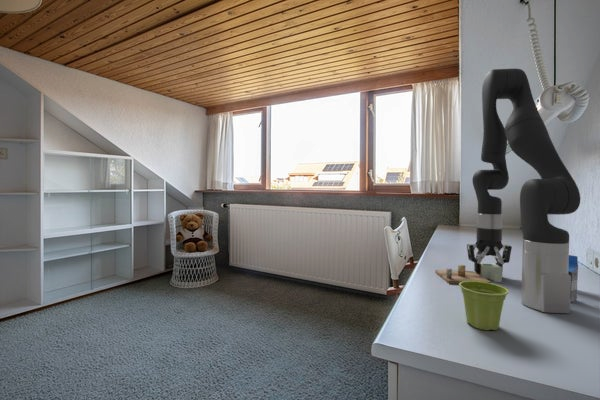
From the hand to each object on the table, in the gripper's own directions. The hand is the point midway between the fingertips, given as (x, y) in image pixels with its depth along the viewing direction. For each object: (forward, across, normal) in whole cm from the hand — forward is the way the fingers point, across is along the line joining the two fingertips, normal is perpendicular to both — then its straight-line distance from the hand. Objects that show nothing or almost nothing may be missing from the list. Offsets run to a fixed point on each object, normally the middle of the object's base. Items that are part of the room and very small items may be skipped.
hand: (488, 273), depth 103 cm
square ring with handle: (+1, 0, -2) cm, 2 cm away
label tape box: (+1, +8, -19) cm, 21 cm away
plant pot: (+1, -21, -40) cm, 45 cm away
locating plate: (+1, -10, -4) cm, 11 cm away
